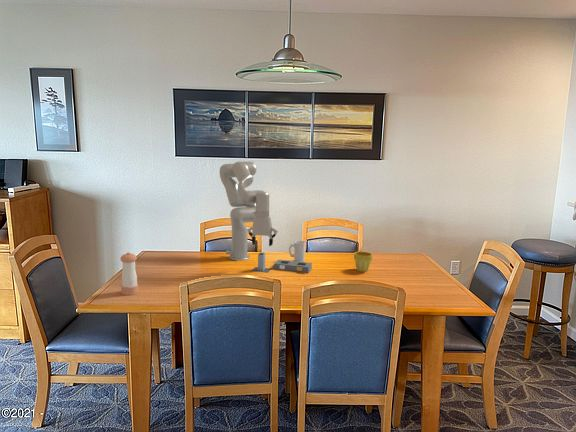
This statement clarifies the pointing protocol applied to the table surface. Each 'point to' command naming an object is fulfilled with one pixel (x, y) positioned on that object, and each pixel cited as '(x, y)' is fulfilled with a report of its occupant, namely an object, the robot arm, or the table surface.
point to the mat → (261, 271)
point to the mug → (298, 251)
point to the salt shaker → (129, 274)
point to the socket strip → (293, 266)
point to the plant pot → (362, 260)
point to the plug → (261, 261)
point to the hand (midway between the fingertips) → (262, 245)
